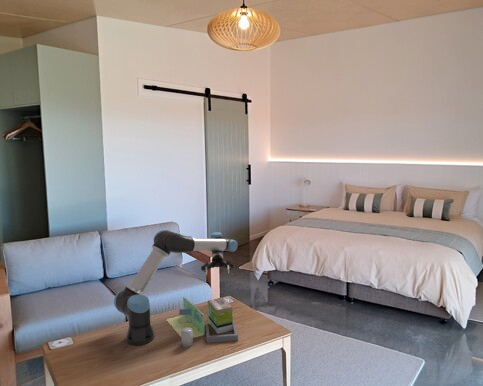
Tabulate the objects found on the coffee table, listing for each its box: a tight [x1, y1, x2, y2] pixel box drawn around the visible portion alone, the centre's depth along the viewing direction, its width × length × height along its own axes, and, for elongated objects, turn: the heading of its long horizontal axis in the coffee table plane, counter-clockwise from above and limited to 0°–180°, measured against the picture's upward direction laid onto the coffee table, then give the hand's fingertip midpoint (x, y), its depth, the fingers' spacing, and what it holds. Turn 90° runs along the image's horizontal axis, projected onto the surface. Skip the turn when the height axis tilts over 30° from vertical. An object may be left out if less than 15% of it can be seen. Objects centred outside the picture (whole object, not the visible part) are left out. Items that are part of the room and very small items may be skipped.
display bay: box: [205, 323, 239, 344], centre depth 222 cm, size 17×14×3 cm
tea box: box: [207, 297, 234, 335], centre depth 231 cm, size 15×10×15 cm, turn 25°
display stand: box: [166, 296, 206, 339], centre depth 232 cm, size 30×12×12 cm, turn 30°
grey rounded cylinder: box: [180, 328, 194, 348], centre depth 213 cm, size 6×6×8 cm
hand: (217, 272), depth 241 cm, fingers open, 13 cm apart
